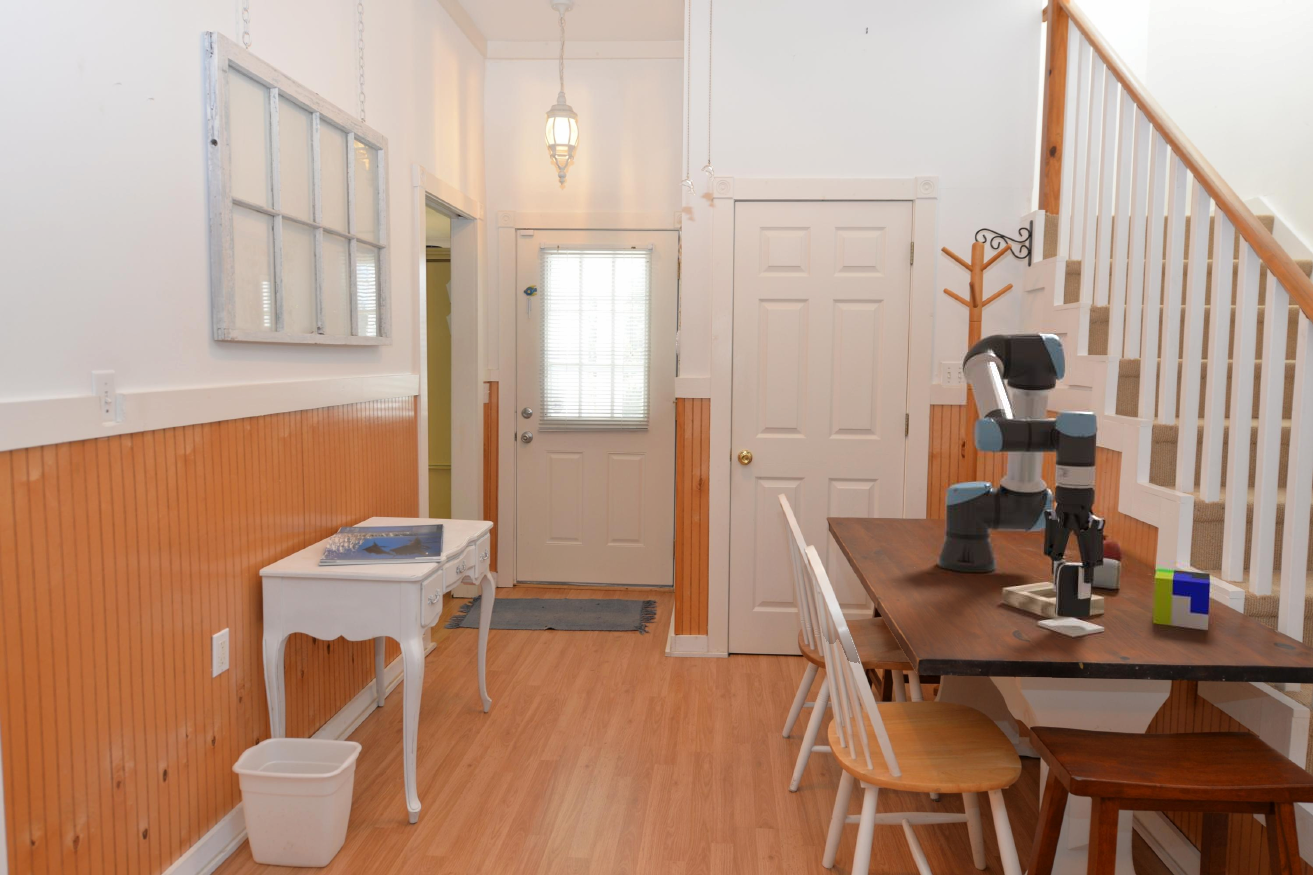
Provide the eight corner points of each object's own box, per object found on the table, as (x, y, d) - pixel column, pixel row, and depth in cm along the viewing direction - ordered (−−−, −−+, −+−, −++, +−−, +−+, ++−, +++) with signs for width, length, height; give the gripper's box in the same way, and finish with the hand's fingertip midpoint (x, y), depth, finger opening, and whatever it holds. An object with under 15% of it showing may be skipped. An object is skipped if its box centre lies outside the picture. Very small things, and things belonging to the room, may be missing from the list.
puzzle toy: (1207, 630, 183) (1209, 583, 182) (1153, 623, 188) (1154, 577, 188) (1207, 618, 192) (1209, 573, 191) (1155, 611, 197) (1157, 568, 196)
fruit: (1112, 578, 228) (1114, 540, 227) (1073, 571, 235) (1075, 535, 234) (1129, 571, 235) (1130, 534, 234) (1090, 565, 242) (1091, 530, 241)
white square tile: (1037, 625, 188) (1037, 621, 187) (1068, 619, 191) (1068, 616, 191) (1072, 636, 179) (1072, 632, 179) (1104, 631, 183) (1104, 627, 183)
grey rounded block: (1120, 592, 213) (1121, 561, 213) (1083, 588, 217) (1084, 558, 217) (1120, 583, 223) (1121, 553, 222) (1084, 580, 227) (1085, 550, 226)
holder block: (1002, 602, 205) (1002, 588, 205) (1046, 596, 211) (1046, 581, 210) (1058, 620, 191) (1058, 604, 190) (1104, 612, 196) (1104, 597, 196)
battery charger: (1083, 613, 187) (1087, 560, 186) (1091, 618, 183) (1095, 565, 182) (1050, 612, 187) (1053, 559, 186) (1056, 617, 184) (1060, 564, 182)
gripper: (1026, 481, 190) (1023, 586, 192) (1100, 492, 173) (1096, 607, 175) (1051, 479, 193) (1049, 582, 195) (1127, 489, 176) (1123, 602, 178)
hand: (1071, 594), depth 185 cm, fingers closed on battery charger, 6 cm apart
